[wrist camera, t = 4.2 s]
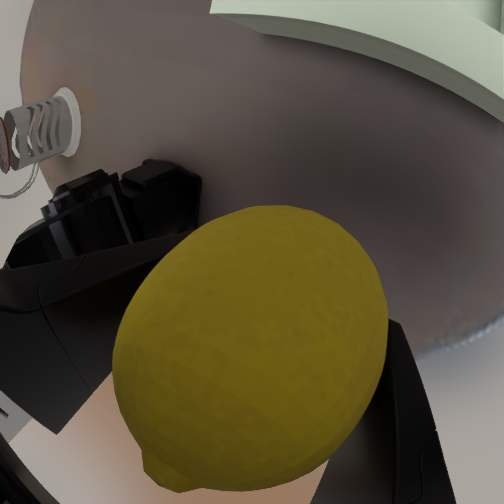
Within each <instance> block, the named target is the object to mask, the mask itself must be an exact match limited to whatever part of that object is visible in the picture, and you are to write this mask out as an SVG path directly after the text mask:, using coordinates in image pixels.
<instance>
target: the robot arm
mask: <svg viewBox="0 0 504 504" xmlns="http://www.w3.org/2000/svg"><path fill="white" fill-rule="evenodd" d="M118 179H119V177H118V174H117V172H116V173H114V174H111V175H108V173H107V174H106V173H105V172H104V171H103V170H102V169H99V170H97V171H94V172H92V173H90V174H87V175H85V176H82V177H80V178H77V179H75V180H72V181H70V182H67V183H65V184H63V185H61V186H59V187H57V188H56V191H55V193H54V196H53V198H52V199H51V200H49V201H48V202H49V204H48V205H46V206H44V207H42V208H41V212H42V215H43V217H44V218H42V219H40V220H39V221H37V222H35V223H33V224H32V225H30V226H29V227H28V228H27V229H26V230H25V231H24V232H23V233H22V234H21V235H20V236H19V237H18V238H17V240H16V241H15V243H14V245H13V247H12V249H11V251H10V253H9V255H8V257H7V259H6V261H5V264H4V266H3V268H1V269H0V504H60V503H59V502H57V500H56V499H55V498H54V497H53V496H52V495H51V494H50V493H49V492H48V491H47V490H46V489H45V488H44V487H43V486H42V485H41V484H40V483H39V481H38V480H37V479H36V478H35V477H34V476H33V475H32V473H31V472H30V471H29V470H28V469H27V467H26V466H25V465H24V464H23V463H22V461H21V460H20V459H19V457H18V456H17V455H16V453H15V452H14V451H13V449H12V448H11V447H10V445H9V444H8V443H9V442H10V441H11V440H12V439H13V438H14V437H15V436H16V435H17V433H19V431H20V430H21V429H22V428H23V427H24V426H25V425H26V424H27V423H28V422H29V421H30V420H31V419H32V418H34V419H35V420H36V421H38V422H39V423H40V424H42V425H43V426H45V427H46V428H48V429H49V430H50V431H52V432H53V433H55V434H56V435H57V434H58V433H59V432H60V431H61V430H62V429H63V427H64V426H65V425H66V424H67V423H68V421H69V420H70V419H71V418H72V417H73V416H74V414H75V413H76V412H77V411H78V410H79V409H80V408H81V406H82V405H83V404H84V403H85V402H86V401H87V399H88V398H89V397H90V396H91V395H92V394H93V392H94V391H95V390H96V389H97V388H98V387H99V385H100V384H101V383H102V382H103V381H104V379H105V378H106V377H107V376H108V375H109V374H110V373H111V372H112V361H113V350H114V346H115V341H116V336H117V333H118V329H119V326H120V323H121V321H122V319H123V316H124V314H125V311H126V309H127V307H128V305H129V303H130V302H131V300H132V298H133V296H134V295H135V293H136V291H137V290H138V289H139V287H140V286H141V284H142V283H143V281H144V280H145V278H146V277H147V276H148V275H149V273H150V272H151V271H152V270H153V268H154V267H155V266H156V265H157V264H158V263H159V262H160V261H161V260H162V259H163V258H164V257H165V256H166V255H167V254H168V253H169V252H170V251H171V250H172V249H174V248H175V247H176V246H177V245H178V244H179V243H180V242H182V241H183V240H184V239H185V238H186V237H188V236H189V235H190V234H191V233H192V232H194V231H195V230H197V221H198V210H199V199H200V189H201V179H200V177H199V176H197V175H195V174H192V173H189V172H186V171H183V170H180V169H179V168H178V167H177V166H174V165H171V164H168V163H165V162H162V161H159V160H155V161H153V160H150V159H147V160H144V161H143V162H142V166H139V167H137V168H134V169H132V170H129V171H127V172H125V173H123V174H122V175H121V180H118ZM194 180H195V181H196V183H195V182H194ZM435 430H436V426H435V422H434V419H433V415H432V412H431V408H430V405H429V401H428V398H427V395H426V392H425V389H424V386H423V383H422V380H421V377H420V374H419V371H418V368H417V366H416V363H415V360H414V357H413V355H412V352H411V349H410V347H409V344H408V342H407V339H406V337H405V334H404V332H403V329H402V327H401V325H400V324H399V323H398V322H396V321H393V320H391V319H388V335H387V348H386V356H385V362H384V366H383V370H382V374H381V377H380V380H379V382H378V385H377V388H376V390H375V392H374V395H373V397H372V399H371V401H370V403H369V405H368V407H367V408H366V410H365V412H364V414H363V415H362V417H361V419H360V420H359V422H358V423H357V425H356V426H355V428H354V429H353V430H352V432H351V433H350V435H349V436H348V437H347V439H346V440H345V441H344V443H343V444H342V445H341V446H340V448H339V449H338V450H337V451H336V452H335V453H334V454H333V455H332V456H331V457H330V458H329V461H328V463H327V466H326V468H325V471H324V474H323V476H322V478H321V480H320V483H319V485H318V487H317V489H316V492H315V494H314V496H313V498H312V500H311V502H310V504H456V500H455V496H454V492H453V489H452V485H451V482H450V478H449V475H448V471H447V467H446V464H445V460H444V456H443V452H442V448H441V445H440V441H439V437H438V433H437V431H435Z"/></svg>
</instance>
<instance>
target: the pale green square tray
mask: <svg viewBox="0 0 504 504" xmlns="http://www.w3.org/2000/svg"><path fill="white" fill-rule="evenodd" d="M210 14H212V15H215V16H218V17H221V18H224V19H227V20H230V21H232V22H235V23H237V24H240V25H243V26H245V27H248V28H250V29H252V30H255V31H257V32H259V33H262V34H270V35H277V36H284V37H291V38H296V39H302V40H307V41H312V42H317V43H322V44H326V45H330V46H334V47H338V48H342V49H346V50H349V51H353V52H356V53H360V54H363V55H366V56H369V57H372V58H375V59H378V60H381V61H384V62H387V63H390V64H392V65H395V66H397V67H400V68H403V69H405V70H407V71H410V72H412V73H415V74H417V75H419V76H421V77H424V78H426V79H428V80H430V81H432V82H434V83H436V84H438V85H440V86H442V87H444V88H446V89H448V90H450V91H452V92H454V93H456V94H458V95H459V96H461V97H463V98H465V99H467V100H468V101H470V102H472V103H473V104H475V105H477V106H478V107H480V108H482V109H483V110H485V111H486V112H488V113H489V114H491V115H492V116H494V117H495V118H497V119H498V120H500V121H502V122H504V0H212V5H211V9H210Z"/></svg>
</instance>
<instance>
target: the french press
mask: <svg viewBox="0 0 504 504" xmlns="http://www.w3.org/2000/svg"><path fill="white" fill-rule="evenodd" d="M42 106H44V111H45V112H44V115H43V118H42V121H41V124H40V127H39V130H38V125H39V120H40V115H41V111H42ZM29 109H30V110H29ZM34 109H35V116H36V117H35V121H34V124H33V127H32V131H31V142H32V147H33V150H32V149H31V148H30V146H29V144H28V142H27V136H28V130H29V127H30V124H31V121H32V118H33V115H34ZM15 126H16V128H17V135H16V141H15V142H16V149H17V150H18V152H19V154H20V159H19V158H18V157H16V156H15V154H14V152H13V150H12V143H11V140H12V137H13V133H14V130H15ZM37 132H38V138H39V140H40V142H41V143H42V148H43V149H42V148H41V147H40V146H39V145H38V144H37ZM80 136H81V116H80V111H79V106H78V102H77V100H76V98H75V96H74V93H73V92H72V91H71V90H70V89H68V88H67V87H66V88H60V89H59V90H58V91H57V92H56V93H55V95H54V96H53V97H52V98H48V99H44V100H40V101H37V102H33V103H30V104H27V105H23V106H20V107H17V108H14V109H12V110H8V111H7V112H6V114H5V117H4V121H3V119H2V118H1V117H0V168H1V170H2V172H3V173H5V174H7V172H8V171H9V170H10V166H11V167H12V169H13V170H15V171H16V170H19V169H22V168H24V167H26V166H28V165H30V164H33V163H34V166H33V170H32V174H31V177H30V179H29V181H28V182H27V183H26V184H25V186H24V187H23V188H22V189H20V190H19V191H17V192H15V193H14V194H12V195H6V196H4V195H0V198H2V199H10V198H15V197H17V196H19V195H20V194H22V193H23V192H25V191H26V190H27V189H29V188H30V186H31V185H32V184H33V183H34V180H35V178H36V176H37V173H38V168H39V164H40V163H41V162H42V161H44V160H47V159H49V158H51V157H54V156H56V155H59V154H62V155H64V156H67V157H70V156H72V155H74V154H75V152H76V150H77V148H78V146H79V141H80ZM29 153H30V154H31V155H29ZM37 162H38V165H37V171H36V175H35V177H34V179H33V181H32V182H31V184H30V185H29V186H28V187H27V188H26V189H25V190H23V189H24V188H25V187H26V186H27V185H28V184H29V183H30V181H31V178H32V176H33V173H34V168H35V164H36V163H37ZM22 190H23V191H22ZM21 191H22V192H21Z"/></svg>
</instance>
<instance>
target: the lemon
mask: <svg viewBox="0 0 504 504" xmlns="http://www.w3.org/2000/svg"><path fill="white" fill-rule="evenodd" d="M387 335H388V308H387V301H386V297H385V294H384V291H383V287H382V284H381V281H380V278H379V275H378V272H377V269H376V267H375V265H374V264H373V262H372V261H371V259H370V258H369V256H368V255H367V253H366V252H365V250H364V249H363V248H362V246H361V245H360V243H359V242H358V241H357V240H356V239H355V238H354V237H353V236H352V235H350V234H349V233H348V232H347V231H346V230H345V229H344V228H342V227H341V226H340V225H339V224H338V223H336V222H334V221H332V220H330V219H328V218H326V217H324V216H322V215H320V214H318V213H316V212H314V211H311V210H306V209H302V208H297V207H293V206H288V205H267V206H253V207H248V208H245V209H242V210H239V211H236V212H233V213H230V214H227V215H224V216H222V217H219V218H216V219H214V220H212V221H210V222H208V223H206V224H204V225H203V226H201V227H200V228H198V229H197V230H195V231H194V232H192V233H191V234H190V235H189V236H188V237H186V238H185V239H184V240H183V241H182V242H180V243H179V244H178V245H177V246H176V247H175V248H174V249H172V250H171V251H170V252H169V253H168V254H167V255H166V256H165V257H164V258H163V259H162V260H161V261H160V262H159V263H158V264H157V265H156V266H155V267H154V268H153V270H152V271H151V272H150V273H149V275H148V276H147V277H146V278H145V280H144V281H143V283H142V284H141V286H140V287H139V289H138V290H137V291H136V293H135V295H134V296H133V298H132V300H131V302H130V303H129V305H128V307H127V309H126V311H125V314H124V316H123V319H122V321H121V323H120V326H119V329H118V333H117V336H116V341H115V346H114V350H113V361H112V375H113V383H114V390H115V395H116V398H117V402H118V405H119V408H120V412H121V414H122V416H123V418H124V420H125V422H126V424H127V426H128V428H129V430H130V432H131V434H132V436H133V437H134V439H135V440H136V442H137V443H138V445H139V446H140V448H141V450H142V459H143V468H144V472H145V473H146V474H147V475H148V476H149V477H150V478H151V479H152V480H153V481H154V482H156V483H157V484H158V485H159V486H161V487H164V488H166V489H169V490H172V491H174V492H177V493H182V492H186V491H190V490H194V489H198V488H207V489H214V490H221V491H253V490H260V489H265V488H271V487H274V486H278V485H281V484H284V483H288V482H291V481H293V480H295V479H298V478H300V477H302V476H304V475H306V474H308V473H310V472H312V471H313V470H314V469H316V468H317V467H319V466H320V465H321V464H323V463H324V462H326V461H327V460H328V459H329V458H330V457H331V456H332V455H333V454H334V453H335V452H336V451H337V450H338V449H339V448H340V446H341V445H342V444H343V443H344V441H345V440H346V439H347V437H348V436H349V435H350V433H351V432H352V430H353V429H354V428H355V426H356V425H357V423H358V422H359V420H360V419H361V417H362V415H363V414H364V412H365V410H366V408H367V407H368V405H369V403H370V401H371V399H372V397H373V395H374V392H375V390H376V388H377V385H378V382H379V380H380V377H381V374H382V370H383V366H384V362H385V356H386V348H387Z"/></svg>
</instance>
